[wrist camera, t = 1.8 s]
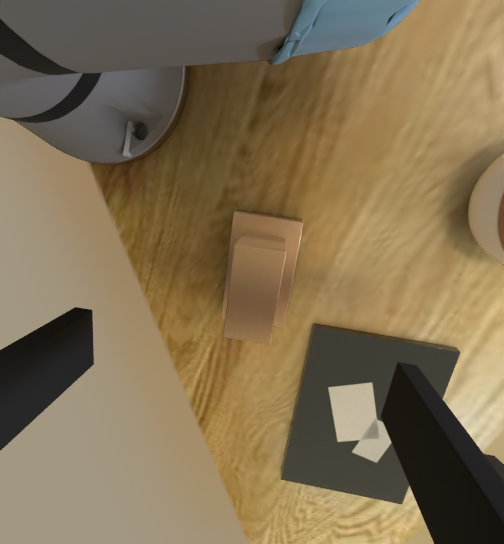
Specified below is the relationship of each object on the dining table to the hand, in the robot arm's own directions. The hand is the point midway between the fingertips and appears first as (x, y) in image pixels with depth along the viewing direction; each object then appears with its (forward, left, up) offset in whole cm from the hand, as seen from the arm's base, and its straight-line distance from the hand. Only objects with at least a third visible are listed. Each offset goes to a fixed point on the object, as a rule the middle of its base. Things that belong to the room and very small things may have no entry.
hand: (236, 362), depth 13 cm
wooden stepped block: (0, 0, -17) cm, 17 cm away
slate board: (+15, +13, -17) cm, 26 cm away
